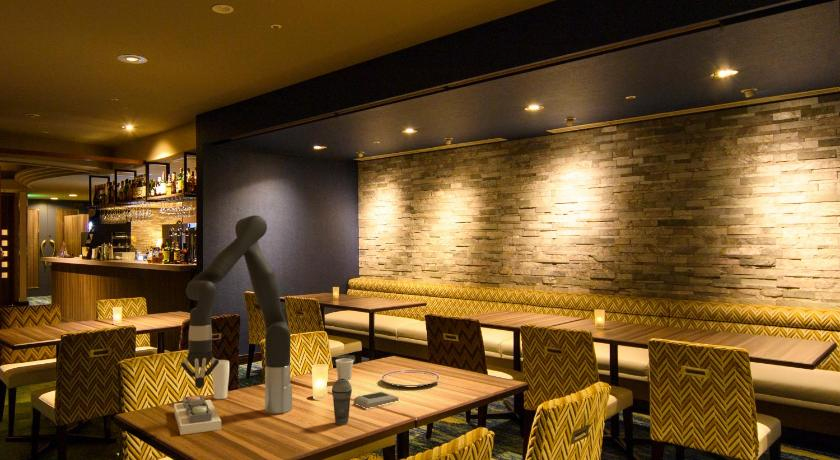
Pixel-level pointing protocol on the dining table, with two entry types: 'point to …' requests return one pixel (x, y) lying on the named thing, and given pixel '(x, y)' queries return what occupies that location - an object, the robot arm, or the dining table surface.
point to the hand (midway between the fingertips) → (199, 388)
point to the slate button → (196, 402)
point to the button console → (196, 417)
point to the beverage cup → (341, 399)
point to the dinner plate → (410, 372)
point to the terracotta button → (193, 398)
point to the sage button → (199, 410)
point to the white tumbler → (220, 379)
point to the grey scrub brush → (374, 399)
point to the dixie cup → (344, 368)
